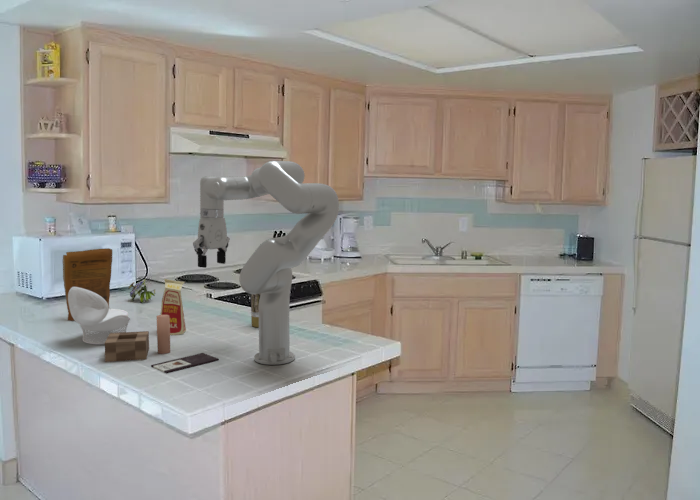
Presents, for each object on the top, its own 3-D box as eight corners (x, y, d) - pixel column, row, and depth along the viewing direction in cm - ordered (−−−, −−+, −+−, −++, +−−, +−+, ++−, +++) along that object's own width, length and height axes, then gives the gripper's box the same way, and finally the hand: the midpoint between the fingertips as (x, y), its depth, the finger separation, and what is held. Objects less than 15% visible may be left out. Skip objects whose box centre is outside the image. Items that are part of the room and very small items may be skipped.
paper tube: (265, 328, 229) (265, 262, 226) (248, 327, 231) (247, 262, 228) (271, 324, 236) (271, 260, 233) (255, 323, 237) (254, 259, 234)
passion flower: (133, 312, 278) (125, 290, 282) (157, 306, 284) (148, 283, 287) (134, 303, 269) (126, 279, 273) (159, 296, 274) (150, 273, 278)
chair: (143, 338, 215) (141, 282, 212) (92, 351, 199) (89, 291, 196) (109, 330, 226) (107, 276, 224) (58, 341, 210) (55, 284, 207)
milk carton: (160, 335, 218) (158, 280, 216) (160, 329, 227) (159, 276, 225) (186, 334, 221) (184, 279, 218) (186, 328, 229) (184, 275, 227)
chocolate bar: (218, 358, 190) (166, 371, 177) (218, 361, 190) (166, 374, 177) (202, 352, 196) (151, 365, 183) (202, 355, 196) (151, 368, 183)
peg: (170, 353, 197) (169, 317, 195) (157, 354, 196) (156, 317, 194) (170, 349, 201) (169, 314, 199) (158, 350, 200) (156, 314, 198)
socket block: (146, 359, 190) (145, 340, 190) (105, 361, 187) (104, 342, 187) (149, 348, 202) (148, 331, 201) (110, 351, 199) (109, 333, 198)
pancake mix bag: (117, 317, 246) (114, 248, 243) (66, 323, 236) (62, 251, 232) (113, 314, 252) (110, 246, 248) (63, 320, 241) (59, 249, 238)
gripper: (203, 216, 191) (203, 270, 194) (237, 213, 207) (236, 263, 209) (185, 214, 195) (185, 267, 197) (219, 211, 210) (219, 260, 212)
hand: (211, 265), depth 203 cm, fingers open, 9 cm apart
